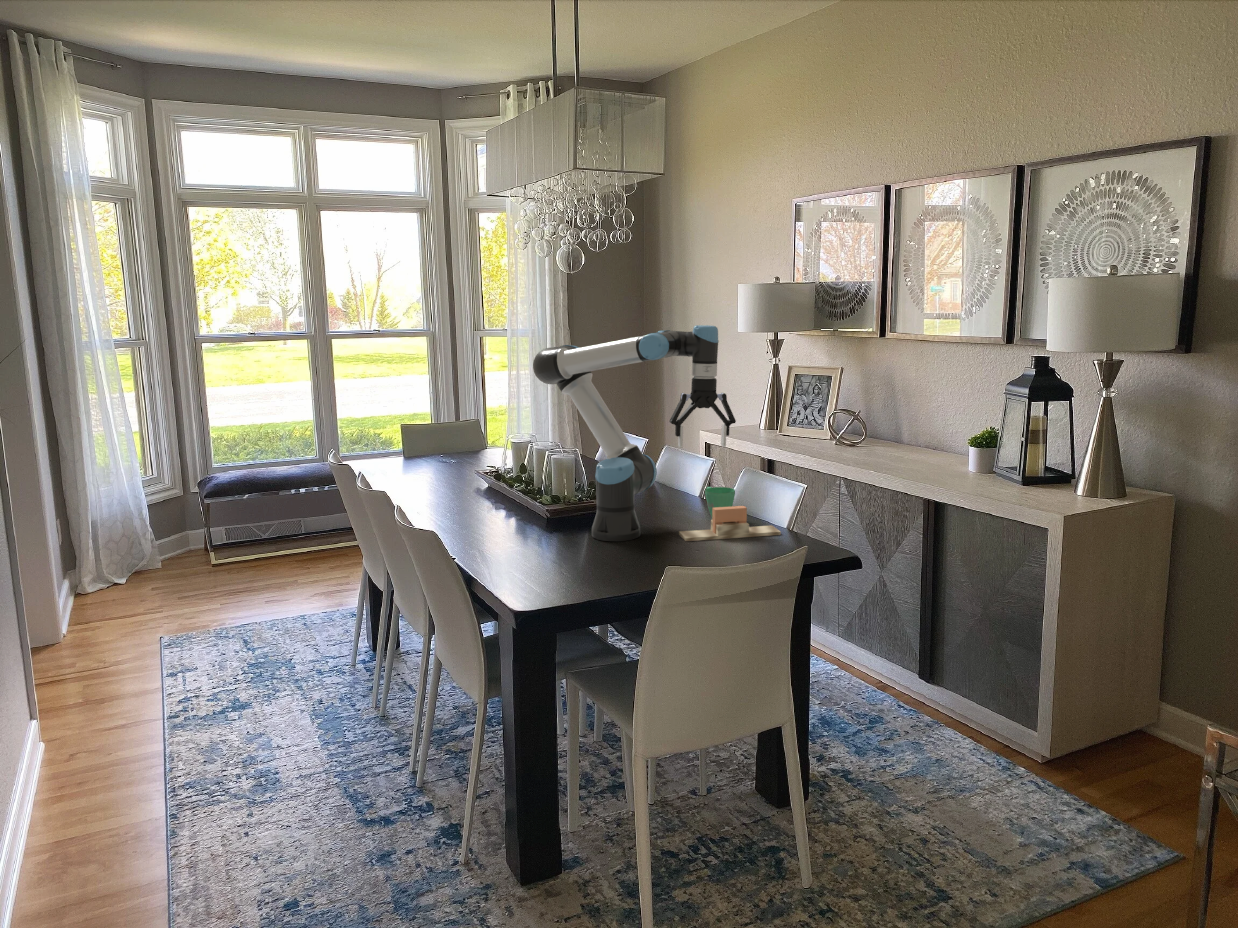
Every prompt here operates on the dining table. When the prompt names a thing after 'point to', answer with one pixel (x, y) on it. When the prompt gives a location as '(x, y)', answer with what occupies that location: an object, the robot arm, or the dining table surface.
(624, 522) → the robot arm
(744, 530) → the rail
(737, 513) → the clip
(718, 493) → the green tapered cup
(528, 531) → the dining table surface
